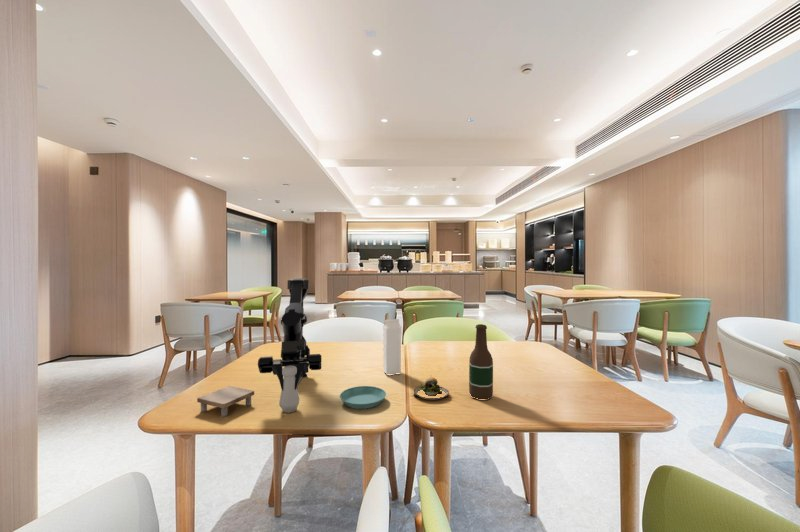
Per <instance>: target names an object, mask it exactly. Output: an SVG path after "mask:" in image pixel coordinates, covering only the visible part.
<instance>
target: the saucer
mask: <svg viewBox="0 0 800 532" xmlns="http://www.w3.org/2000/svg"><path fill="white" fill-rule="evenodd" d="M386 396H387V392H386V391H385V390H384V389H383V388H379V387H376V386H371V385H361V386H353V387H350V388H347V389H345V390H343V391H342V392H340V395H339V398H340V400H341V401H342V402H343V404H345V405H346V406H347V407H349V408H351V409H355V410H366V409H367V408H368V409H371V407H372V408H375V407H377V406H378V405H380V404H381V403H382V402H383V400H384V399H385V398H386ZM374 406H375V407H374Z"/></svg>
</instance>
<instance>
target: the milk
mask: <svg viewBox="0 0 800 532" xmlns="http://www.w3.org/2000/svg"><path fill="white" fill-rule="evenodd" d="M382 329H383V330H382V331H383V332H382V333H383V334H382V338H383V339H382V345H383V347H382V353H383V354H382V368H383V369H382V371H383V370H384V372H385V373H386V374H396V373H402V372H401V371H402V369H401V368H402V367H401V366H402V365H401V364H402V359H401V358H402V353H401V352H402V327H401V324H400V319H399V318H391V319H390V318H389V319H388V318H387V319H385V320H384V324H383V327H382ZM384 372H383V373H384ZM385 373H384V374H385Z"/></svg>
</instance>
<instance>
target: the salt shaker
mask: <svg viewBox="0 0 800 532" xmlns="http://www.w3.org/2000/svg"><path fill="white" fill-rule="evenodd" d="M296 373H297V367H296V366H292V365H290V366H285V367H283V368H282V375H283V391H282V390H281V392H280V397H279V403H278V405H279V406H280V409H281V410H282V413H289V414H290V413H292V412H295V411H296V410H297V408H298V406H299V404H300V395H299V391H298V388H297V389H296V390H295V381H296V378H295V374H296Z"/></svg>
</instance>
